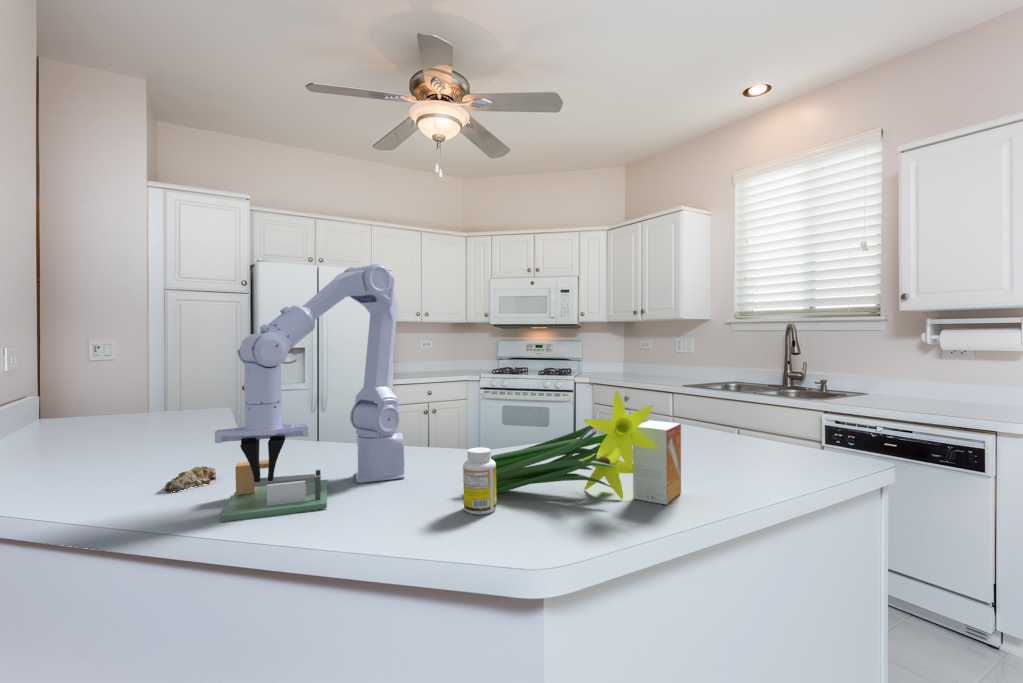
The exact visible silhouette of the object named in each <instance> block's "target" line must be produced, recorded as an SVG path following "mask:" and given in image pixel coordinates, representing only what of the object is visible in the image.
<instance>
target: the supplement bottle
mask: <svg viewBox="0 0 1023 683" xmlns="http://www.w3.org/2000/svg"><path fill="white" fill-rule="evenodd" d="M466 456H467V460H465V461H464V462H463V464H462V467H463V468H462V473H463V474H462V475H463V476H462V478H463V480H462V481H463V508H464V510H465V512H466V513H468V514H470V515H478V516H479V515H488V514H490V513H493V512H494V511H495V510H496V509H497V505H498V504H497V502H498V501H497V494H496V463H495V461H494V460H492V459H491V456H492V450H491V448H488V447H478V446H477V447H472V448H469V449H468V450H467V455H466Z"/></svg>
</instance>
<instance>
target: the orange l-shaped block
mask: <svg viewBox="0 0 1023 683" xmlns="http://www.w3.org/2000/svg"><path fill="white" fill-rule="evenodd" d="M259 464H260V470H262V469H268V468H269V459H264V460H259ZM253 479H254V476H253V472H252V469H251V467H250V464H249V462H248V461H243V462H242V461H240V462H238V463H237V464H236V465H235V492H236V495H242V494H251V493H255V491H256V489H257V487H251V484H252V481H253Z"/></svg>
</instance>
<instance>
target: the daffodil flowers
mask: <svg viewBox="0 0 1023 683" xmlns="http://www.w3.org/2000/svg"><path fill="white" fill-rule="evenodd" d="M653 408H654V405H648V406H645V407H643V408H641V409H639V410H636V411H634V412H633V413H631V414H629V415H627V411H626V407H625V405H624V402H623V399H622V396H621V394H620V392H619V391H618V390H617V389H616V390H615V393H614V397H613V403H612V414H611V419H612V420H611V419H602V418H586V419H583V420H582V422H584V423H585V424H586V425H587V426H585V427H584V428H580V429H579V430H575V431H573V432H570V433H567V434H565V435H561V436H558V437H556V438H554V439H550V440H547V441H544V442H541V443H538V444H534V445H531V446H528V447H525V448H521V449H518V450H513V451H508V452H502V453H498V454H493V455H491V459H492V460H494V461H495V463H496V495H497V494H500V493H503V492H504V493H505V492H508V491H511V490H515V489H518V488H522V487H525V486H527V485H528V486H529V485H532V484H544V483H554V482H566V481H568V482H569V481H587V482H586V484H585V486H584V489H583V490H584V491H586V490H588V489H589V488H590V487H592V486H594V485H595V484H600V485H601V484H602V485H603V486H607V487H609V488H611V489H612V490H613V491H614V492H615V494H616V495H617V496H618V497H619V498H620V499H621V500H623V499H624V493H623V487H622V482H621V478H620V474H633V445H636V446H639V447H642V448H648V449H657V448H659V447H658V446H657V445H656V444H655V443H654V442H653V441H651V440H650V439H649V438H648V437H646V436H645V435H643V434H642V433H640V432H639V431H638V430H635V429H636V428H637V427H638V426H639V425H640V424H641V423H644V422H646V420H647V418H648V416H650V414H651V412H652V410H653ZM593 429H596V430H598V431H600V432H602V433H603V434H600V435H596V434H597V431H593V432H592V433H590V434H588V433H589V432H590V431H591V430H593ZM586 435H587V436H586ZM592 445H596V446H595V447H592V448H590V449H589V448H585V447H590V446H592ZM560 456H561V457H560ZM556 457H558V458H556ZM553 458H556V459H553ZM620 458H622V459H623V460H620ZM549 459H550V461H549V462H544V461H547V460H549ZM551 459H553V460H552V461H551ZM541 462H544V463H541ZM538 463H539V464H538ZM540 463H541V464H540ZM589 466H591V467H593V468H594V469H593V468H591V467H589ZM578 470H584V471H585V470H587V471H592V470H593V472H592V473H591V475H590V476H586V475H583V474H580V473H575V471H578ZM573 472H574V473H573ZM603 478H605V479H606V481H607V483H608V484H607V483H605V482H604V481H602V479H603Z"/></svg>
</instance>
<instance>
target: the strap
mask: <svg viewBox="0 0 1023 683" xmlns="http://www.w3.org/2000/svg"><path fill="white" fill-rule="evenodd" d="M315 476H320V474H319V473H317V474H316V473H311V474H306V475H304V474H297V475H296V474H295V476H294V475H285V476H284V475H283V476H274V478H273V480H272V481H268V477H260V480H259V482H254V479H253V481H252V484H251V487H260V486H267V484H277V483H287V482H296V481H305V483H311V482H315Z"/></svg>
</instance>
